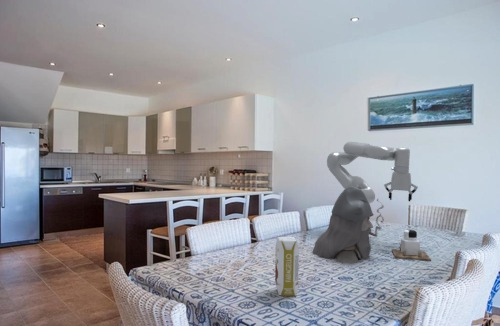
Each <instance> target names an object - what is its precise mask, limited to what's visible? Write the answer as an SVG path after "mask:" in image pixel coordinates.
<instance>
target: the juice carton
mask: <svg viewBox="0 0 500 326" xmlns="http://www.w3.org/2000/svg"><path fill="white" fill-rule="evenodd" d="M298 243H299V242H298V240H296V238H295V237H294V236H277V237H276V242H275V262H274V263H275V264H274V265H275V269H274V270H275V271H274V273H275V274H274V275H275V278H274V280H275V281H274V282H275V283H274V284H275V286H276V287H275V288H276V290H277V294H278V296H279V295H282V296H281V297H295V296H297V295H298V290H299V270H300V268H299V266H300V265H299V262H300V261H299V259H300V258H299V257H300V252H299V251H300V247H299V244H298ZM284 295H285V296H284Z"/></svg>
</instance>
